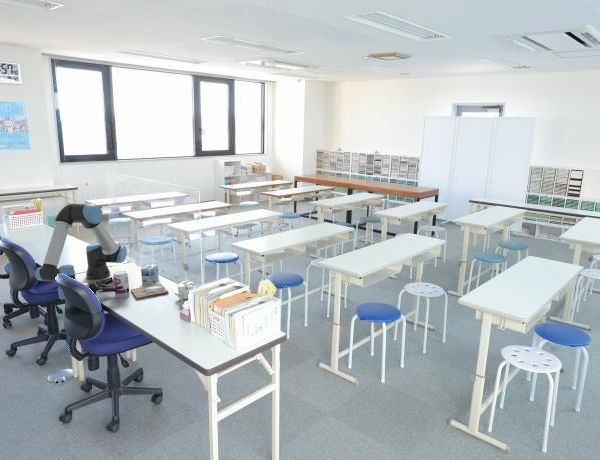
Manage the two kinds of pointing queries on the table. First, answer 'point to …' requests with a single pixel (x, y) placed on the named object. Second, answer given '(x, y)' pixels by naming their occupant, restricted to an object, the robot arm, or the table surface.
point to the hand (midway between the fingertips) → (126, 282)
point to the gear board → (149, 291)
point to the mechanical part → (184, 289)
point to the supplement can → (120, 279)
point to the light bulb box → (149, 274)
